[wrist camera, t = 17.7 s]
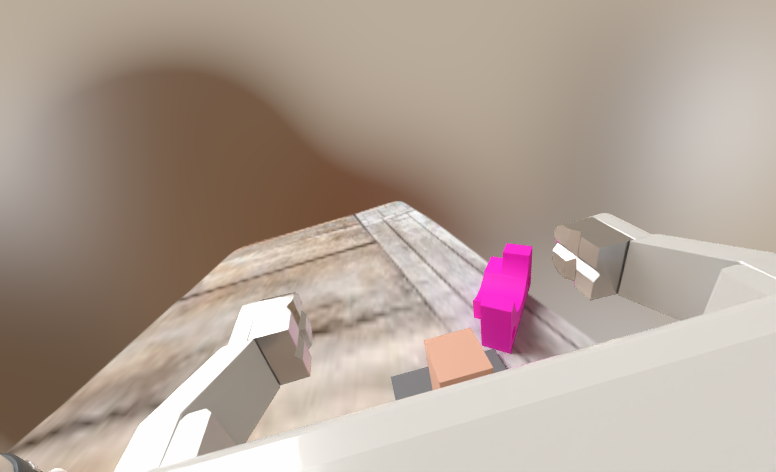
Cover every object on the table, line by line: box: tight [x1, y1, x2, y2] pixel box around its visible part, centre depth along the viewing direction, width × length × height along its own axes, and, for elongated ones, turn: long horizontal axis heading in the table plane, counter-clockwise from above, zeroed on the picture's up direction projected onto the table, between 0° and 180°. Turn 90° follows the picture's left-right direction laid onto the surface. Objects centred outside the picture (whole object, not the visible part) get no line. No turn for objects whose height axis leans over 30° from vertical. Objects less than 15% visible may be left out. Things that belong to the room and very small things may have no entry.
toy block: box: [473, 243, 532, 354], centre depth 46 cm, size 15×6×8 cm, turn 149°
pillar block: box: [424, 328, 493, 390], centre depth 32 cm, size 5×5×10 cm
